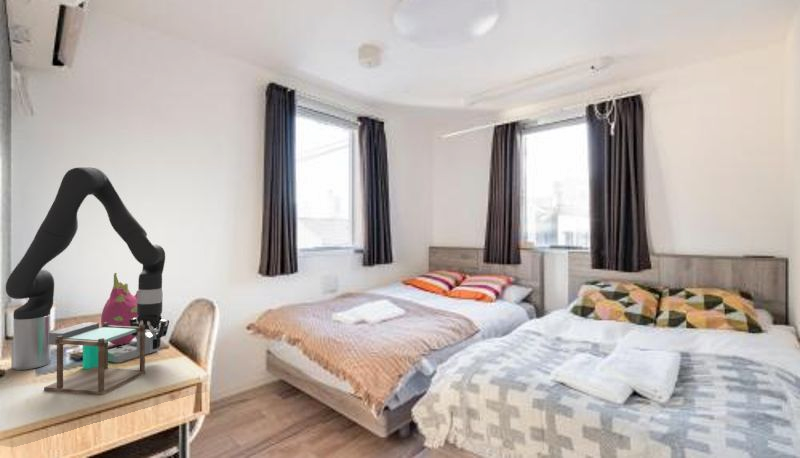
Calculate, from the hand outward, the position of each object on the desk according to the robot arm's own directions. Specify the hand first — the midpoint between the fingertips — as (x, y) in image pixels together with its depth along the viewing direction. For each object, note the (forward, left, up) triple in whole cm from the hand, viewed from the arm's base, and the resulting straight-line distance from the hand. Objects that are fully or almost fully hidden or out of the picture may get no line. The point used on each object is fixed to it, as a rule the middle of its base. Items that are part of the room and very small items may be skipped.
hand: (148, 347), depth 133 cm
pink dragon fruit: (-26, +17, -6) cm, 32 cm away
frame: (-5, -15, -6) cm, 17 cm away
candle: (-17, -4, -6) cm, 19 cm away
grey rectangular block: (0, 0, -1) cm, 1 cm away
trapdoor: (-6, -15, +7) cm, 18 cm away
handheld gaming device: (-13, +7, -6) cm, 16 cm away
